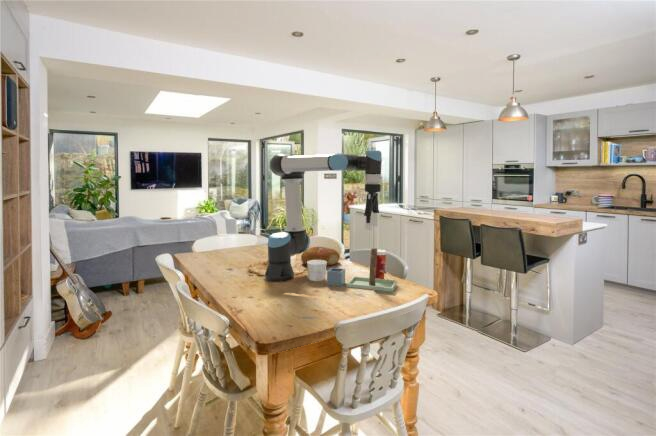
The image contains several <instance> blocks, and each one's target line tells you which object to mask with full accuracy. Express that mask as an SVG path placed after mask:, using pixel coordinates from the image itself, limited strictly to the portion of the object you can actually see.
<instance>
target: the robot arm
mask: <svg viewBox="0 0 656 436" xmlns="http://www.w3.org/2000/svg"><path fill="white" fill-rule="evenodd" d="M382 161H383V159H382V151H380V150H373V149H372V150H371V149H369V150H366V151H365V154H347V153H345V154H344V153H339V152H338V153H333V154H331V153H330V154H315V155H312V154H311V155H297V154H294V153H293V154H289V153H277V154H275V155H273V156H272V157H271V158H270V160H269V169H270V171H271V173H272V174H273V175H275V176H278V177H280V179H281V181H282V182H283V184H284V198H285V199H284V201H285V203H284V204H285V216H286V227H285V229H284V230H283V231H279V232H275V233H272V234H269V236H268V237H267V238H268V239H267V266H266V270H265V272H264V279H265V280H266V281H268V282H274V283H280V282H282V283H283V282H289V281H292V280H294V279H295V273H294V270H293V267H292V264H291V260H292V259H291V256H294V255H300V254H302V253H303V252H304V251H306V250H307V249H309V248H310V245H311V239H310V238H311V237H310V236H309V235H308V233H307V232H306V228H305V227H304V226H303V212H302V211H303V210H302V209H303V208H302V192H301V191H302V190H301V188H302V187H301V182H302V181H303V180H304V175H305V172H326V171H329V172H330V171H331V172H332V171H333V172H334V171H335V172H336V171H337V172H339V171H350V172H351V171H358V172H359V171H360V172H361V171H363V172H364V173H365V174H364V183H365V184H364V192H365V193H367V194H366V199H365V200H366V201H365V208H364V213H363V216H364V217H365V224H364V225H365V227H364V229H365V230H366V231H372V227H378V214H379V213H380V210H379V198H378V196H379V195H378V193H380V192H381V189H382V186H381V182H382V179H383V176H382Z"/></svg>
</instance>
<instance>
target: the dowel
mask: <svg viewBox="0 0 656 436" xmlns="http://www.w3.org/2000/svg"><path fill="white" fill-rule="evenodd" d="M377 249H378V248H376V247H372V248H370V261H369V262H370V263H369V275H368V278H369V285H370V286H375V280H376V279H377V278H376V263H377Z"/></svg>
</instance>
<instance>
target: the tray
mask: <svg viewBox="0 0 656 436" xmlns="http://www.w3.org/2000/svg"><path fill="white" fill-rule="evenodd" d="M397 282H398V281H397V280H396V279H387V278H386V279H385V278H384V279H383V278H380V279H378V278H376V280H375V286H370V285H369V277H365V276H364V277H363V276H353V277H351V278H350V279H349V280H348V281H347V282H346V283H345V284H346V288H354V289H362V290H363V289H364V290H371V291H372V290H373V292H374V293H375V292H376V293H384V294H393V293H394V291H395V289H396V287H397V285H398V283H397Z"/></svg>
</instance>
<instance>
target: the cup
mask: <svg viewBox="0 0 656 436" xmlns="http://www.w3.org/2000/svg"><path fill="white" fill-rule="evenodd" d="M326 264H327V262H326V261H324V260H310V261H307V265H306V266H307V267H306V268H307V278H308V280H309V281H311V282H312V281H313V282H322V281H324V280H326V276H327V266H326Z"/></svg>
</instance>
